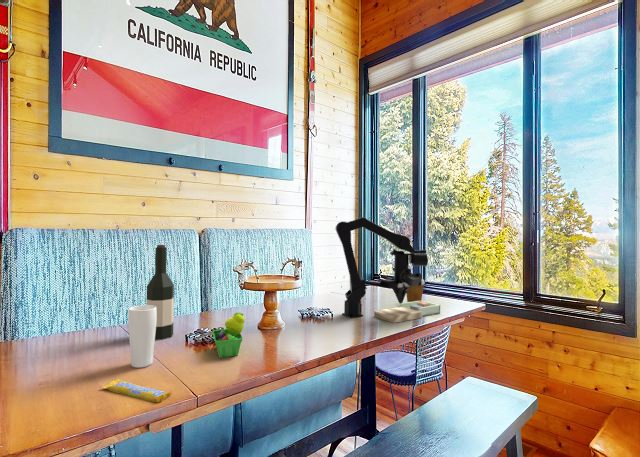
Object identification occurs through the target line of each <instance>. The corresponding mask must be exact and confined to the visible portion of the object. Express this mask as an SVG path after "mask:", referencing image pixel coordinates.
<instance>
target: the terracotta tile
mask: <svg viewBox="0 0 640 457" xmlns="http://www.w3.org/2000/svg"><path fill="white" fill-rule="evenodd" d="M425 302H426V301H425ZM425 302H417V305H420V306H424V307H427V306H429V303H430V302H429V303H425Z"/></svg>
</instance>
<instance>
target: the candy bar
mask: <svg viewBox="0 0 640 457" xmlns="http://www.w3.org/2000/svg"><path fill="white" fill-rule="evenodd" d="M101 387H102V388H103V389H105V390H108V391H110V392H113V393H116V394H120V395H123V396H124V395H125V396H130V397H133V398H137V399H141V400H144V401H148V402H153V403H157V404H159V403H162V402H163V401H165V400H166V399H167V398H169V397H170V396H171V395H172V390H170V391H164V390H158V389H155V388H152V387H151V388H150V387H146V386H143V385H138V384H135V383H131V382H128V381H124V380H120V379H119V378H116V379H114V380H111V381H109V382H108V383H105V384H103V385H101Z"/></svg>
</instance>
